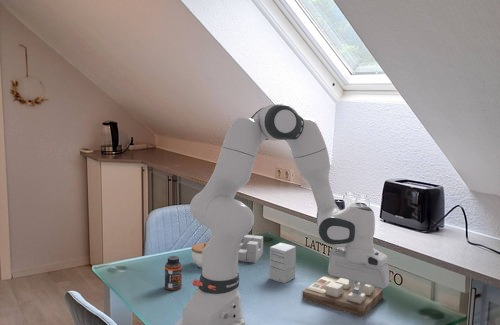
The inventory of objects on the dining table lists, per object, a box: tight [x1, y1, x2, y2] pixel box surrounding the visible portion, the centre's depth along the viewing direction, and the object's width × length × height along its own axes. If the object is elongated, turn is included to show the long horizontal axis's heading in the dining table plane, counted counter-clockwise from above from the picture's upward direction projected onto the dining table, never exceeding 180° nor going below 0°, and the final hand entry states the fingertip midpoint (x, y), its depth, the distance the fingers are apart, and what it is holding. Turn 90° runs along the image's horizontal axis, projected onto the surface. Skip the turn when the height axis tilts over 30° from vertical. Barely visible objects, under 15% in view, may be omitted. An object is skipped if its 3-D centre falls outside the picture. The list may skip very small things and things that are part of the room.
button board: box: [301, 274, 384, 318], centre depth 169 cm, size 18×22×3 cm
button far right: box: [357, 282, 375, 295], centre depth 168 cm, size 4×4×3 cm
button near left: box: [326, 282, 343, 297], centre depth 166 cm, size 4×4×3 cm
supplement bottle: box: [164, 255, 183, 291], centre depth 174 cm, size 6×6×11 cm
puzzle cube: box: [238, 234, 264, 264], centre depth 208 cm, size 12×12×8 cm
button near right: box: [348, 292, 366, 304], centre depth 162 cm, size 4×4×3 cm
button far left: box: [336, 278, 351, 290], centre depth 173 cm, size 4×4×3 cm
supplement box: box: [268, 242, 297, 284], centre depth 185 cm, size 7×7×13 cm
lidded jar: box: [191, 242, 209, 269], centre depth 197 cm, size 11×11×9 cm
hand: (356, 293), depth 161 cm, fingers closed
